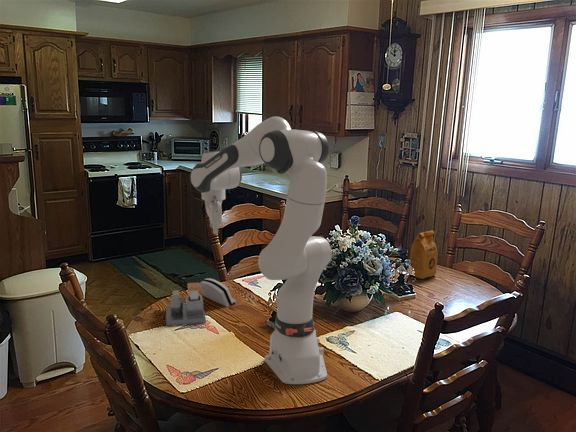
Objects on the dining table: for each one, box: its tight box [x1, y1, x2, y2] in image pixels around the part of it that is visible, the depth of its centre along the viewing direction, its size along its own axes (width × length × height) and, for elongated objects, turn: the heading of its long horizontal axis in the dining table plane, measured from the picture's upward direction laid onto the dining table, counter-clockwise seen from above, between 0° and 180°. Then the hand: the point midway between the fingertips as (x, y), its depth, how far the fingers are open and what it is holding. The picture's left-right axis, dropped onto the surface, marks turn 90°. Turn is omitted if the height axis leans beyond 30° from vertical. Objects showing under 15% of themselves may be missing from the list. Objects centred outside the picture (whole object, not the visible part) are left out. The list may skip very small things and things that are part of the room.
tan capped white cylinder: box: [187, 282, 201, 301], centre depth 183 cm, size 4×4×10 cm
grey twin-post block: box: [165, 289, 207, 327], centre depth 184 cm, size 16×14×8 cm
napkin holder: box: [199, 277, 238, 308], centre depth 199 cm, size 17×5×10 cm, turn 45°
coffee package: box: [409, 230, 439, 280], centre depth 231 cm, size 10×12×22 cm
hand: (214, 230), depth 185 cm, fingers open, 8 cm apart
